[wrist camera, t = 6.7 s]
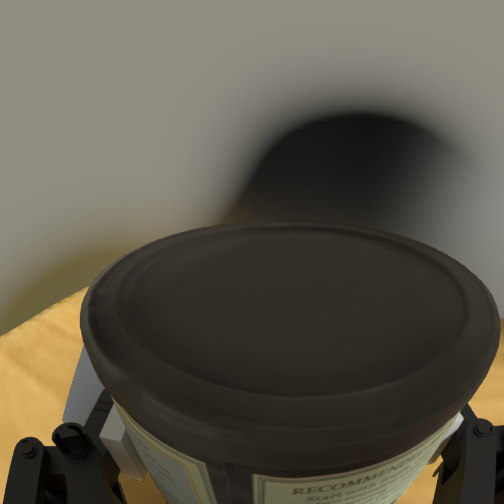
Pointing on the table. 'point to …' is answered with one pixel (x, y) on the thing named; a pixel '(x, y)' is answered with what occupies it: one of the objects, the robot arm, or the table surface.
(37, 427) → the table surface
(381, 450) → the coffee can
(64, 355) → the table surface
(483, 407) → the table surface
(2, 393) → the table surface
